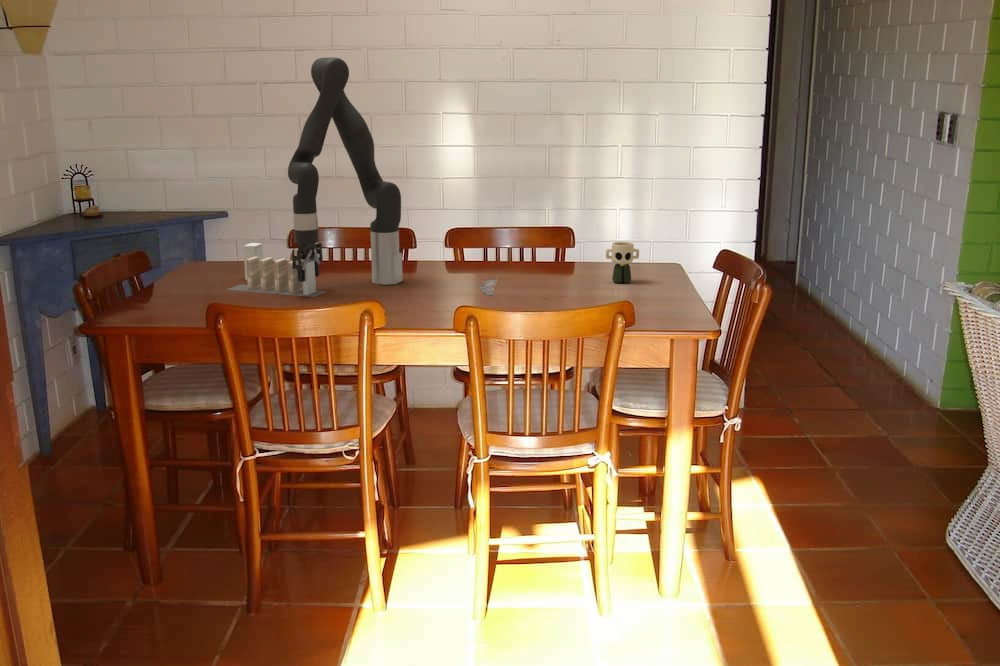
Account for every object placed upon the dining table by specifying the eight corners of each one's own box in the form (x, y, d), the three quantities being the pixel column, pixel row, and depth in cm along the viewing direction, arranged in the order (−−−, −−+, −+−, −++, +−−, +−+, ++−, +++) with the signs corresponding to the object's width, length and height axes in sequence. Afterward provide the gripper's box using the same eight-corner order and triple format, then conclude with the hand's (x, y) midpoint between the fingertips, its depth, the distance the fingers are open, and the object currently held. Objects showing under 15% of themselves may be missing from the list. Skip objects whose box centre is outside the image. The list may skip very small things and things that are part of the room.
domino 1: (261, 287, 309) (259, 256, 306) (252, 290, 304) (250, 259, 302) (256, 286, 309) (254, 256, 307) (248, 290, 305) (245, 259, 302)
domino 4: (302, 290, 304) (300, 259, 301) (293, 293, 300) (291, 262, 297) (297, 290, 305) (295, 259, 302) (289, 293, 300) (287, 262, 297)
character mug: (606, 284, 314) (607, 245, 310) (604, 280, 320) (605, 241, 317) (639, 284, 313) (640, 245, 310) (636, 280, 320) (638, 241, 317)
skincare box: (257, 281, 319) (254, 246, 316) (245, 281, 320) (242, 245, 317) (264, 277, 325) (262, 243, 322) (253, 277, 326) (250, 242, 323)
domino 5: (315, 291, 303) (314, 260, 300) (307, 295, 298) (306, 263, 295) (311, 291, 303) (309, 260, 300) (303, 294, 298) (301, 263, 296)
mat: (327, 292, 303) (327, 291, 303) (314, 298, 296) (314, 296, 296) (240, 285, 313) (240, 284, 313) (226, 290, 306) (226, 289, 306)
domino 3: (288, 289, 306) (286, 258, 303) (279, 292, 301) (277, 261, 298) (283, 289, 306) (281, 258, 304) (275, 292, 302) (273, 261, 299)
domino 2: (274, 288, 307) (272, 257, 305) (266, 291, 303) (264, 260, 300) (270, 288, 308) (268, 257, 305) (261, 291, 303) (259, 260, 301)
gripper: (304, 231, 287) (307, 284, 292) (328, 224, 300) (330, 275, 305) (283, 230, 290) (286, 282, 294) (307, 223, 303) (309, 273, 307)
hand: (308, 278), depth 299 cm, fingers open, 8 cm apart
